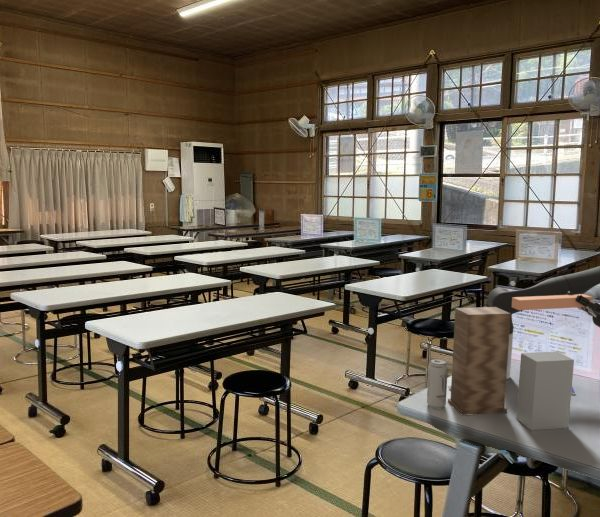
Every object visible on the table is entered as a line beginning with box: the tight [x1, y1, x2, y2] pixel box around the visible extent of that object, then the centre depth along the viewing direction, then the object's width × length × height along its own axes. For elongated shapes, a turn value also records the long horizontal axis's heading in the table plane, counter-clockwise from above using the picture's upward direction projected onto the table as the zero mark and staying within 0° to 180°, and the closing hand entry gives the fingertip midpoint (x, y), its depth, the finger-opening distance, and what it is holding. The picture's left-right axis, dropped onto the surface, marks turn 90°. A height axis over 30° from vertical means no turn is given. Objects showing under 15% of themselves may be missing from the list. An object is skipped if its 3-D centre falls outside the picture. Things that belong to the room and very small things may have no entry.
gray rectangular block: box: [516, 351, 575, 431], centre depth 167 cm, size 12×8×21 cm, turn 100°
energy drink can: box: [426, 358, 449, 410], centre depth 179 cm, size 6×6×15 cm
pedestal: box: [447, 306, 511, 416], centre depth 177 cm, size 15×10×32 cm
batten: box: [512, 293, 594, 311], centre depth 165 cm, size 24×4×3 cm, turn 101°
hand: (572, 296), depth 166 cm, fingers closed on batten, 4 cm apart
